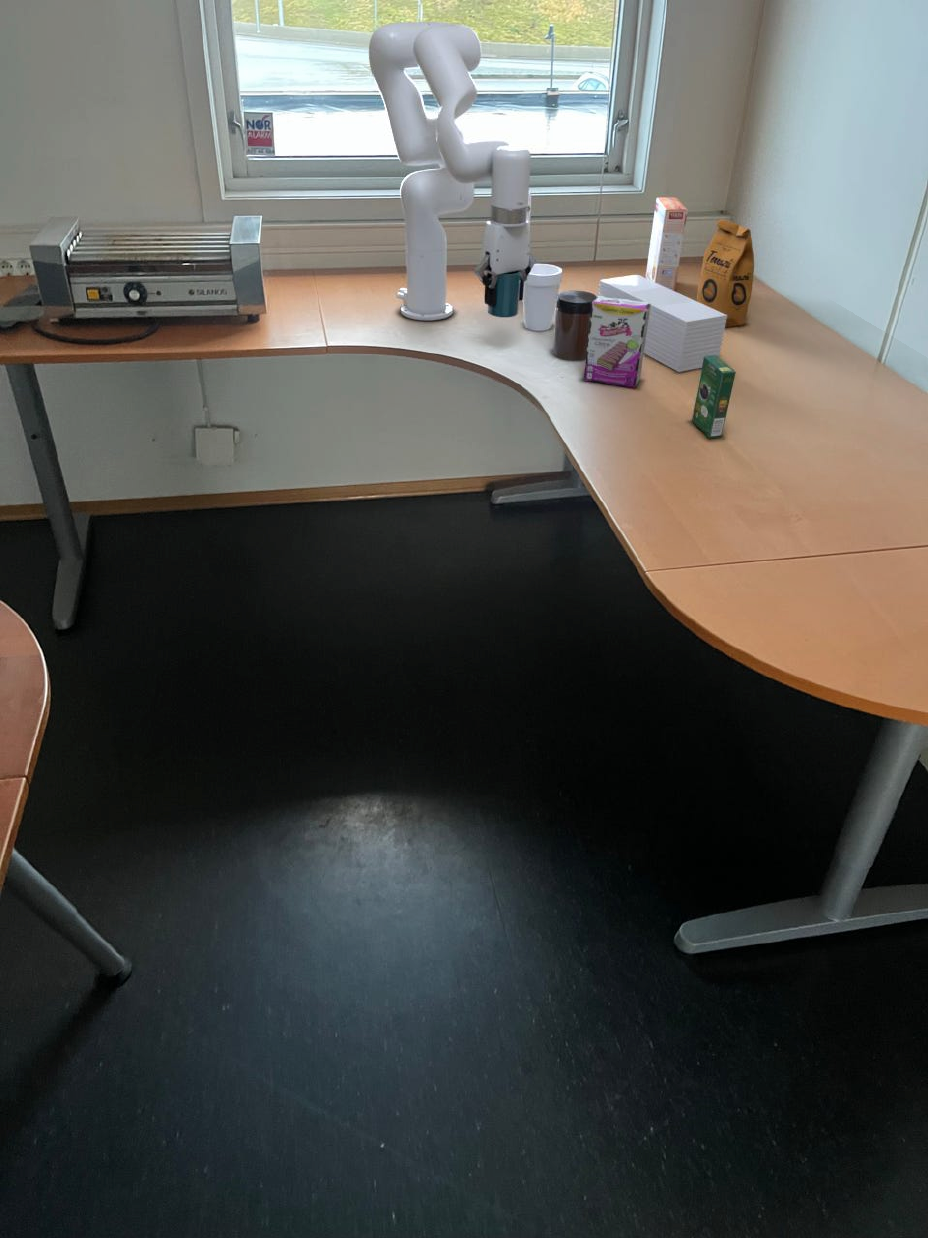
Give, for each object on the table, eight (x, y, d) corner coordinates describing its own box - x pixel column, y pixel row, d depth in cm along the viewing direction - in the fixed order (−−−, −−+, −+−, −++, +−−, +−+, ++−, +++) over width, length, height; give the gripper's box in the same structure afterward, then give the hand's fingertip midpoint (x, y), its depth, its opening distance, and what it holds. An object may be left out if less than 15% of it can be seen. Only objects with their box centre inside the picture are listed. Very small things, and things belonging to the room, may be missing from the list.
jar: (545, 354, 202) (549, 300, 195) (566, 344, 207) (570, 291, 200) (577, 363, 198) (582, 308, 191) (598, 352, 203) (603, 299, 196)
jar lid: (548, 307, 196) (549, 296, 195) (570, 298, 201) (571, 287, 200) (582, 316, 192) (583, 305, 190) (603, 306, 197) (604, 295, 196)
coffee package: (716, 330, 217) (734, 232, 204) (688, 313, 226) (704, 218, 213) (751, 326, 220) (771, 229, 206) (723, 309, 229) (740, 216, 216)
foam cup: (554, 334, 212) (559, 276, 205) (515, 330, 214) (518, 273, 206) (559, 321, 220) (564, 265, 212) (521, 317, 221) (524, 262, 214)
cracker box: (675, 295, 238) (688, 209, 225) (652, 294, 238) (664, 208, 225) (666, 279, 249) (678, 196, 237) (644, 278, 249) (655, 195, 237)
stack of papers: (717, 364, 199) (727, 314, 192) (678, 372, 195) (686, 321, 188) (631, 319, 222) (637, 274, 215) (594, 325, 218) (599, 279, 211)
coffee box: (723, 438, 169) (737, 370, 161) (709, 439, 168) (722, 371, 161) (704, 420, 175) (717, 353, 167) (690, 421, 175) (702, 354, 167)
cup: (481, 312, 199) (483, 269, 194) (499, 304, 203) (502, 263, 198) (506, 319, 196) (508, 276, 190) (524, 311, 200) (527, 269, 195)
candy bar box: (582, 381, 190) (590, 301, 180) (588, 373, 194) (596, 294, 184) (636, 389, 187) (647, 308, 177) (640, 380, 191) (651, 301, 181)
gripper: (529, 205, 194) (523, 290, 205) (463, 215, 185) (461, 304, 196) (552, 213, 189) (545, 299, 200) (486, 224, 181) (482, 314, 192)
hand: (503, 301), depth 198 cm, fingers closed on cup, 6 cm apart
